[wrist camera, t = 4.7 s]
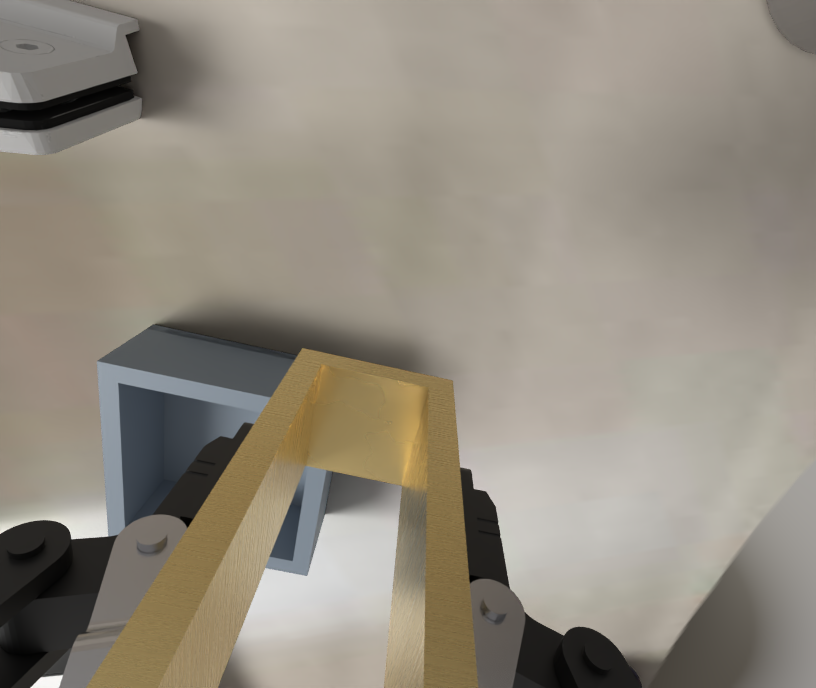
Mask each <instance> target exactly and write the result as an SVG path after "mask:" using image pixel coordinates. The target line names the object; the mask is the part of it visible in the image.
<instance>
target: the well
mask: <svg viewBox="0 0 816 688" xmlns="http://www.w3.org/2000/svg"><path fill="white" fill-rule="evenodd" d="M297 356H298V355H293V354H288V353H284V352H279V351H274V350H270V349H265V348H260V347H256V346H251V345H246V344H242V343H237V342H232V341H228V340H223V339H218V338H214V337H209V336H204V335H200V334H195V333H190V332H186V331H181V330H176V329H172V328H167V327H162V326H158V325H152V326H150V327H149V328H147V329H146V330H144V331H143V332H141V333H140V334H138V335H136V336H135V337H133V338H132V339H130V340H129V341H127V342H126V343H124V344H123V345H121V346H120V347H118V348H116V349H115V350H113V351H112V352H110V353H109V354H107V355H106V356H104V357H103V358H101V359H100V360H98V361H97V370H98V385H99V400H100V415H101V430H102V445H103V461H104V476H105V491H106V506H107V521H108V536H115V535H119V533H120V532H121V531H122V530H123V529H124V528H125V527H126V526H128V525H129V524H131V523H132V522H134V521H136V520H138V519H141V518H143V517H147V516H151V515H153V513H154V512H155V511H156V509H157V508H158V507H159V505H160V504H161V503H162V501H163V500H164V499H165V497H166V496H167V495H168V494H169V492H170V491H171V490H172V488H173V487H174V486H175V484H176V483H177V482H178V480H179V479H180V478H181V476H182V475H183V474H184V473H185V472H186V470H187V468H188V467H189V466H190V464H191V463H192V462H194V459H195V458H196V456H197V455H198V454H199V452H200V451H201V450H202V448H203V447H204V446H205V445H207V444H208V443H210V442H212V441H213V440H215V439H217V438H218V437H220V436H223V437H228V438H232V439H233V438H234V436H235V435H236V433H237V432H238V430H239V429H240V427H241V426H242V424H243V423H245V422H247V423H252V424H254V423H255V422H256V420H257V419H258V417H259V416H260V414H261V412H262V411H263V409H264V408H265V406H266V405H267V403H268V401H269V400H270V398H271V397H272V395H273V394H274V392H275V390H276V389H277V387H278V386H279V384H280V383H281V381H282V379H283V378H284V376H285V375H286V373H287V372H288V370H289V368H290V367H291V365H292V364H293V362H294V361H295V359H296V357H297ZM332 473H333V471H328V470H323V469H319V468H314V467H309V466H305V468H304V471H303V473H302V476H301V478H300V481H299V483H298V486H297V488H296V491H295V494H294V496H293V499H292V501H291V504H290V506H289V509H288V511H287V514H286V516H285V519H284V521H283V524H282V526H281V529H280V531H279V534H278V537H277V539H276V542H275V544H274V547H273V549H272V552H271V554H270V557H269V559H268V562H267V564H266V567H265V568H269V569H274V570H279V571H284V572H289V573H295V574H300V575H305V576H307V575H308V571H309V568H310V564H311V561H312V557H313V554H314V550H315V547H316V543H317V540H318V536H319V533H320V529H321V526H322V522H323V519H324V515H325V510H326V505H327V499H328V494H329V489H330V483H331V478H332Z"/></svg>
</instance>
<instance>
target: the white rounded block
mask: <svg viewBox="0 0 816 688" xmlns="http://www.w3.org/2000/svg"><path fill="white" fill-rule="evenodd" d="M136 31H139V24H138V19H135V18H131V17H128V16H124V15H120V14H117V13H113V12H110V11H106V10H102V9H99V8H95V7H92V6H88V5H84V4H81V3H77V2H73V1H70V0H0V151H1V152H11V153H22V154H32V155H46V154H53V153H57V152H59V151H62V150H64V149H67V148H69V147H72V146H74V145H76V144H79V143H81V142H84V141H86V140H89V139H91V138H94V137H96V136H99V135H101V134H103V133H106V132H108V131H111V130H113V129H116V128H118V127H121V126H123V125H126V124H128V123H131V122H133V121H135V120H138V119H140V116H141V112H142V98H140V97H136V96H134V94H133V90H130V89H126V88H123V87H119V86H118V85H121V84H124V83H128V82H131V78H130V75H133V74H137V69H136V66H135V63H134V60H133V57H132V54H131V51H130V48H129V45H128V42H127V39H126V36H125V35H127V34H130V33H133V32H136Z"/></svg>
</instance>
